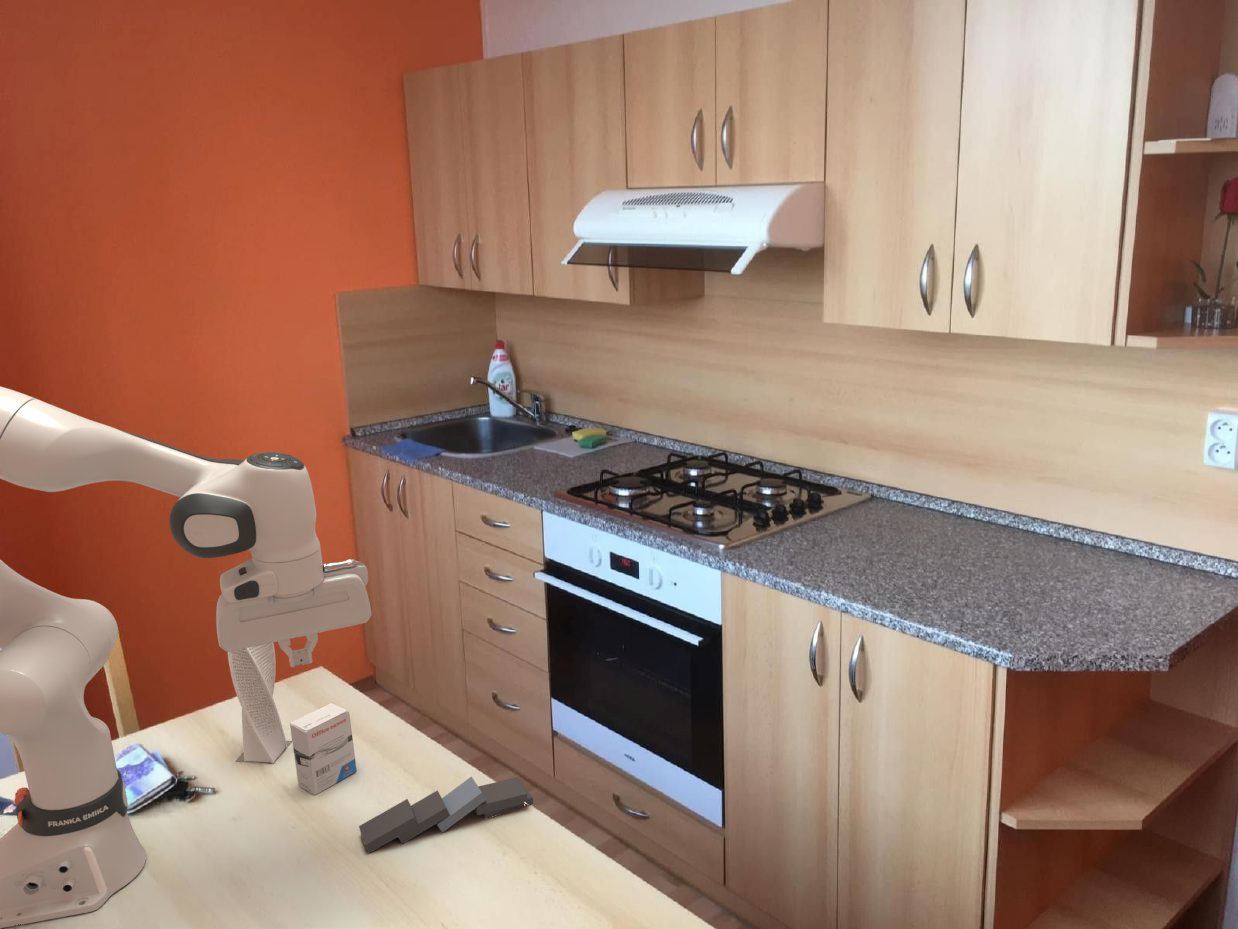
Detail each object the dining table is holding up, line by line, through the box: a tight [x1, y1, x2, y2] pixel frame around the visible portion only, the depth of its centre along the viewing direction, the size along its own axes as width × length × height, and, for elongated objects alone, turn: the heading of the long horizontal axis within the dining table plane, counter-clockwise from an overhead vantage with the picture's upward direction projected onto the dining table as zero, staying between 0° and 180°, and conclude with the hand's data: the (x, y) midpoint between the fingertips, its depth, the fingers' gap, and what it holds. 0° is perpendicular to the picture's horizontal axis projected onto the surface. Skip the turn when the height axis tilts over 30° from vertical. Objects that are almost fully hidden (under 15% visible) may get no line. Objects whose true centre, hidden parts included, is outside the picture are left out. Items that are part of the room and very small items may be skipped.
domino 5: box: [482, 781, 534, 819], centre depth 163 cm, size 2×5×8 cm
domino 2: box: [397, 790, 450, 844], centre depth 157 cm, size 2×5×8 cm
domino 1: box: [358, 798, 419, 854], centre depth 155 cm, size 2×5×8 cm
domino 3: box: [435, 776, 487, 833], centre depth 159 cm, size 2×5×8 cm
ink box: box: [289, 702, 358, 796], centre depth 169 cm, size 8×5×12 cm, turn 141°
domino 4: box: [474, 776, 528, 816], centre depth 162 cm, size 2×5×8 cm
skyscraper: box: [227, 642, 293, 765], centre depth 175 cm, size 8×8×28 cm
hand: (301, 663), depth 143 cm, fingers closed
